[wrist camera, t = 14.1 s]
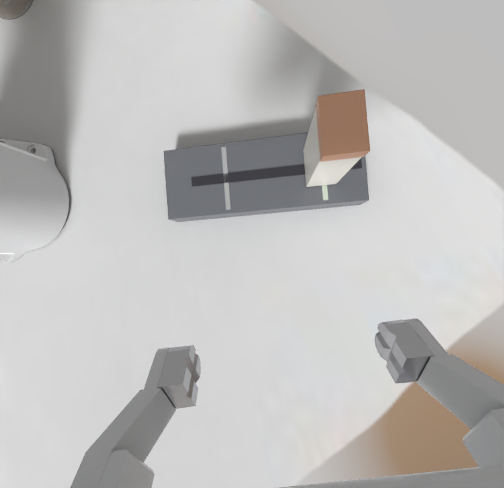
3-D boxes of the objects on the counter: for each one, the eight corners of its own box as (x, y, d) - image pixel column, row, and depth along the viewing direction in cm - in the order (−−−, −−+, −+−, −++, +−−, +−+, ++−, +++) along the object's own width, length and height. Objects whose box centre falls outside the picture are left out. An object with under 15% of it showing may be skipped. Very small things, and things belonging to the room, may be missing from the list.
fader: (306, 188, 27) (323, 156, 18) (303, 149, 27) (318, 95, 18) (336, 185, 27) (370, 150, 17) (332, 145, 27) (364, 89, 17)
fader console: (178, 221, 32) (168, 219, 29) (173, 159, 33) (163, 150, 30) (359, 204, 30) (369, 199, 27) (353, 137, 30) (362, 125, 27)
